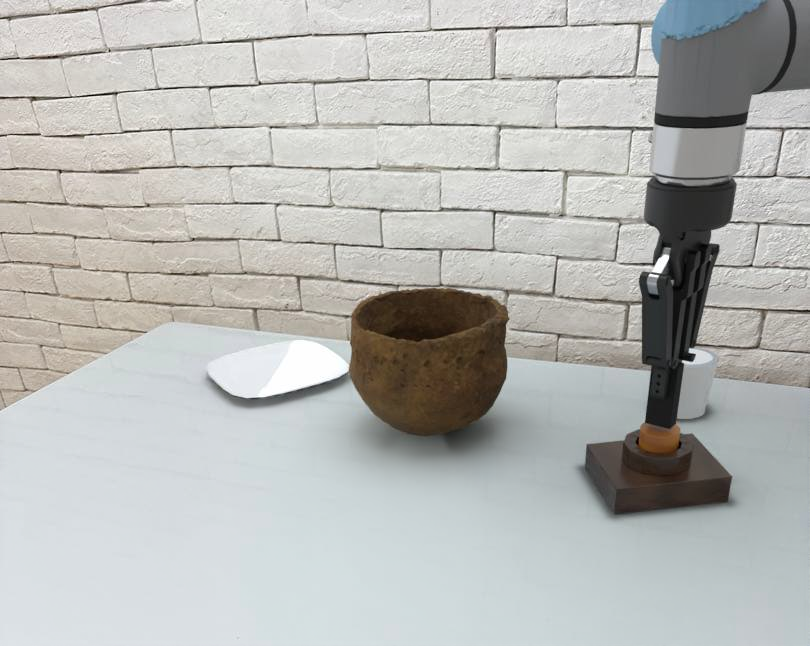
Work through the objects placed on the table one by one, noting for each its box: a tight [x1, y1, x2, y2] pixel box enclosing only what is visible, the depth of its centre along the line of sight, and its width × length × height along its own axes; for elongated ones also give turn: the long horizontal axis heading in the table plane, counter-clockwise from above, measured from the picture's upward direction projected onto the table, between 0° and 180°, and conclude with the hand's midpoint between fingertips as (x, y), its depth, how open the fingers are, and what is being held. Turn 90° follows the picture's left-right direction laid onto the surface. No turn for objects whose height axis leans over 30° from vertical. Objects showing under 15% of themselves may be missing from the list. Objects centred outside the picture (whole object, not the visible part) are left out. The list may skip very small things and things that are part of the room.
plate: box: [205, 339, 350, 401], centre depth 121 cm, size 18×18×2 cm
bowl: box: [348, 287, 510, 437], centre depth 101 cm, size 19×19×15 cm
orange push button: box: [638, 422, 682, 453], centre depth 88 cm, size 4×4×2 cm
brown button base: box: [584, 428, 733, 515], centre depth 90 cm, size 12×10×5 cm
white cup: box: [677, 346, 719, 420], centre depth 104 cm, size 7×7×7 cm
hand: (660, 423), depth 87 cm, fingers closed
